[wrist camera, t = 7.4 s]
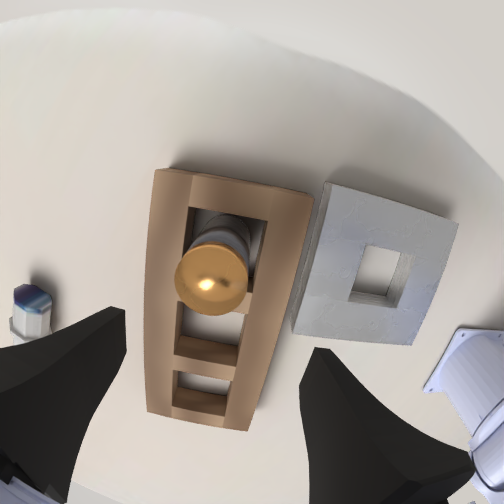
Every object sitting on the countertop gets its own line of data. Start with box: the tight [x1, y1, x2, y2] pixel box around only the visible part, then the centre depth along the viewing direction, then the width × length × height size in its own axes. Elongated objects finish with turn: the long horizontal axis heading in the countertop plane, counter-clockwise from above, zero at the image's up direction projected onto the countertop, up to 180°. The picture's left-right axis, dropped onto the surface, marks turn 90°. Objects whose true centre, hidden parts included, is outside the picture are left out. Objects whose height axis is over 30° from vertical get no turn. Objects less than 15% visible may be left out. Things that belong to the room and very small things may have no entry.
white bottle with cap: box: [9, 284, 52, 345], centre depth 22 cm, size 5×7×25 cm
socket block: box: [289, 182, 459, 345], centre depth 19 cm, size 10×10×2 cm
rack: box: [144, 168, 314, 431], centre depth 20 cm, size 9×20×2 cm, turn 169°
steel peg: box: [174, 215, 250, 316], centre depth 16 cm, size 3×3×7 cm
